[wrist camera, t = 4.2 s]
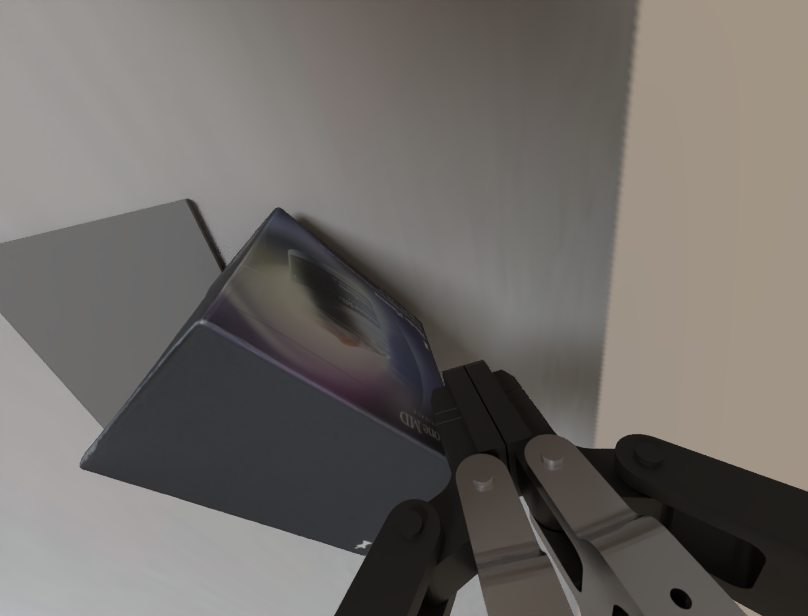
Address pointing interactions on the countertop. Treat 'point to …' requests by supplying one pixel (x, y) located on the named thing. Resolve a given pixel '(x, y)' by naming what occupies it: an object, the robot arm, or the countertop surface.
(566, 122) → the countertop surface
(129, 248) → the mat
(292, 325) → the small box
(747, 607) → the robot arm
